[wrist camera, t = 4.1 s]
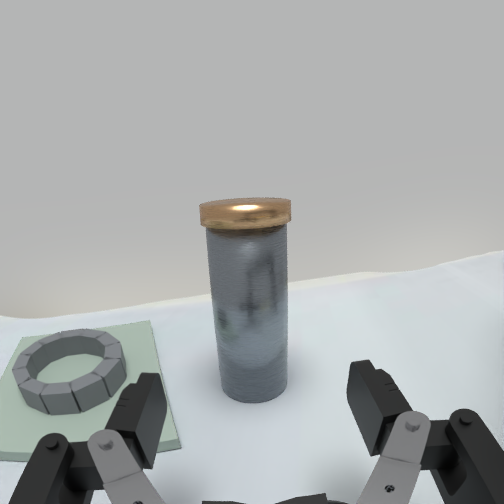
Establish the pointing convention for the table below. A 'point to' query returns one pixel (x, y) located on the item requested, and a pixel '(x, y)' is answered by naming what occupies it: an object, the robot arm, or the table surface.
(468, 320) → the table surface
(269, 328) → the copper lidded jar
